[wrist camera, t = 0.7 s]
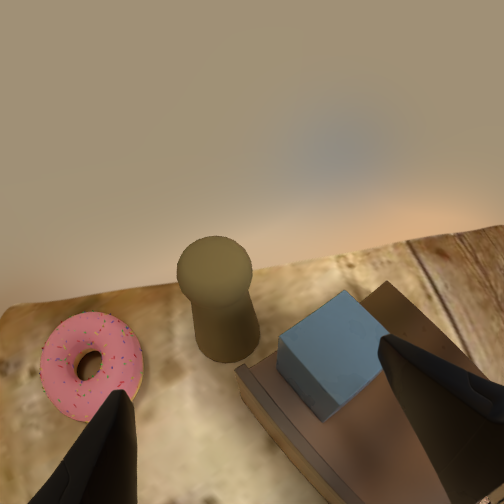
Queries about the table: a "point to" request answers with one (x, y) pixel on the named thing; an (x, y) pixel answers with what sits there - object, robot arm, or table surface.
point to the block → (331, 354)
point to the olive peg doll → (220, 297)
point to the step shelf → (357, 421)
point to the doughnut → (71, 352)
